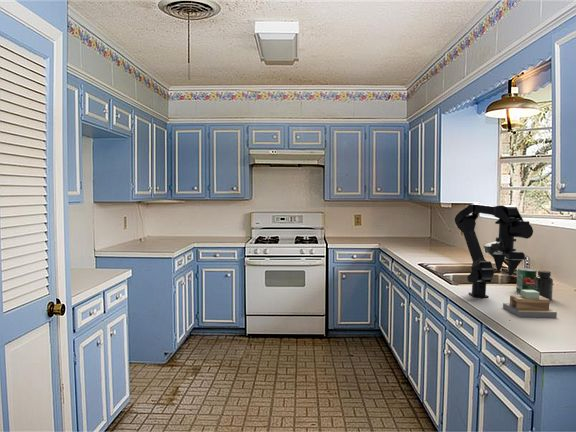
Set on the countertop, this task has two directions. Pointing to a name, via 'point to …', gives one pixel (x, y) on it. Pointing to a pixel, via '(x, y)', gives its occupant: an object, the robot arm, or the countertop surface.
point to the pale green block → (529, 294)
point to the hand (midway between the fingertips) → (504, 273)
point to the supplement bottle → (544, 284)
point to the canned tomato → (525, 279)
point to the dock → (529, 312)
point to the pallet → (529, 303)
